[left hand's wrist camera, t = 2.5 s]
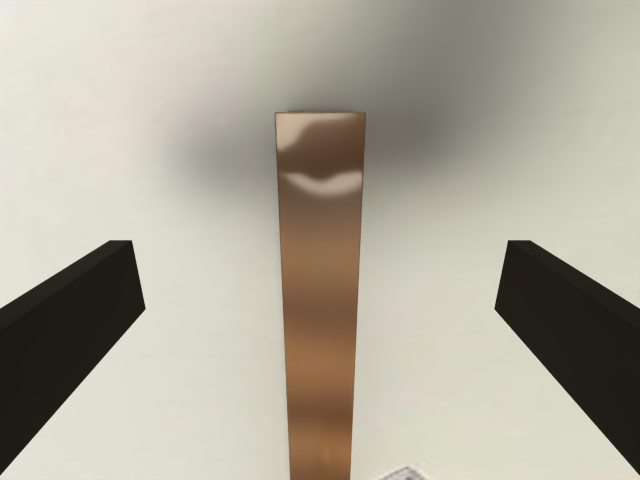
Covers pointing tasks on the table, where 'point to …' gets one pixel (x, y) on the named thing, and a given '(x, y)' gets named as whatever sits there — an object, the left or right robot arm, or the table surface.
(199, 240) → the table surface
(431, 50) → the table surface
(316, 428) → the bar
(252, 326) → the table surface
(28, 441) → the left robot arm
